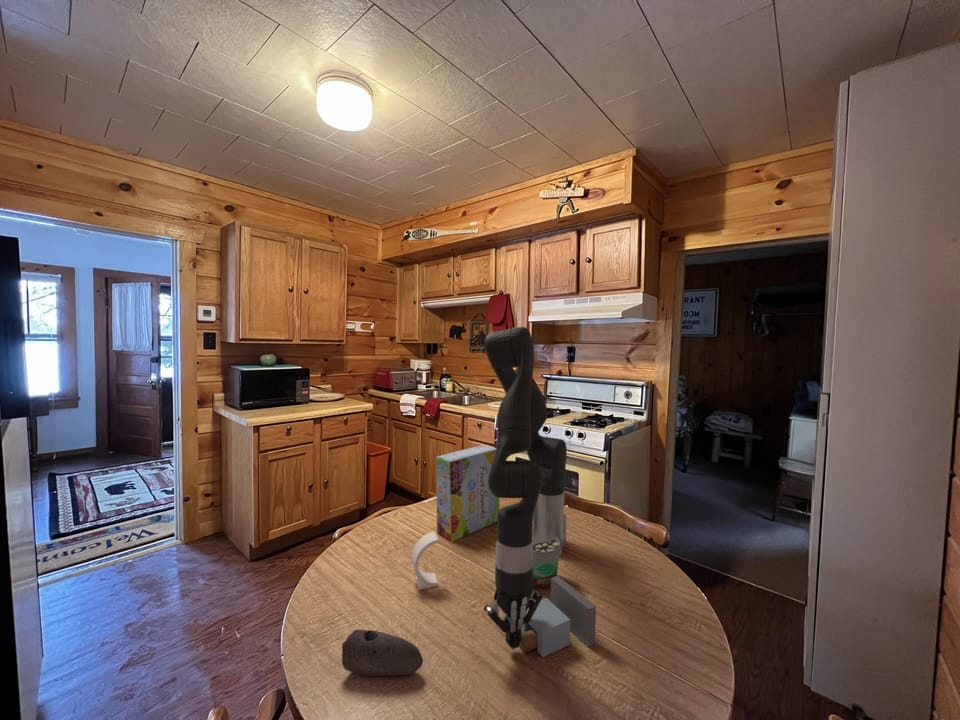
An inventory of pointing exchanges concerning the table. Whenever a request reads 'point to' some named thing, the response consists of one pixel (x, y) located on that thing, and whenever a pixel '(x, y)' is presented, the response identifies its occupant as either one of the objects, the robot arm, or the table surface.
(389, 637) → the perforated stone tool
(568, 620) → the block
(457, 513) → the snack box
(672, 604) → the table surface
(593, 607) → the backstop wall
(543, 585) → the ice cream tub
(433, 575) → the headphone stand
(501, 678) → the table surface
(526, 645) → the dowel
